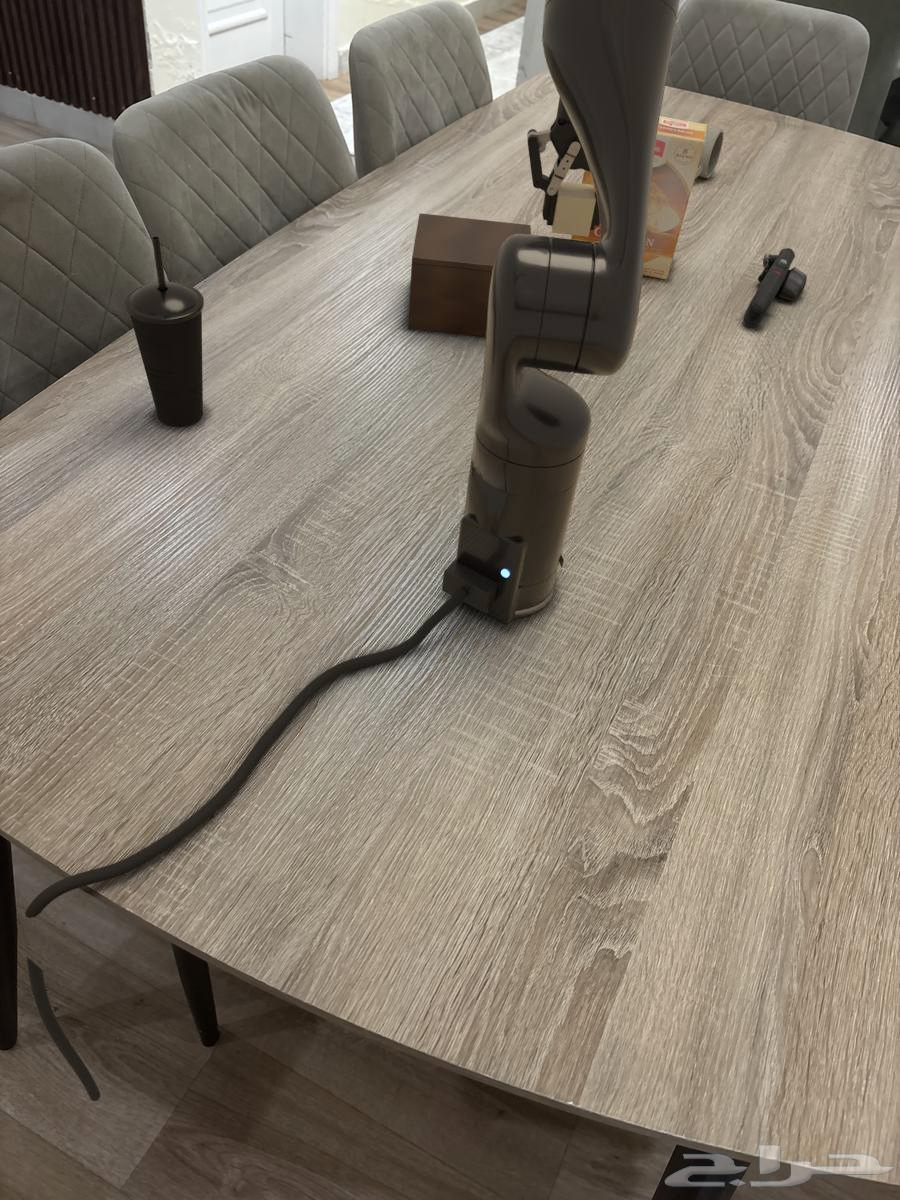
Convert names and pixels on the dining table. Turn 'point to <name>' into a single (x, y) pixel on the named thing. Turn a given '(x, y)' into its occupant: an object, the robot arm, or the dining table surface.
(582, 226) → the block
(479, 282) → the brown wooden box
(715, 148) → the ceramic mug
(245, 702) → the dining table surface
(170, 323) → the drinking cup
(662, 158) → the coffeecake box
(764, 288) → the can opener
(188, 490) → the dining table surface
